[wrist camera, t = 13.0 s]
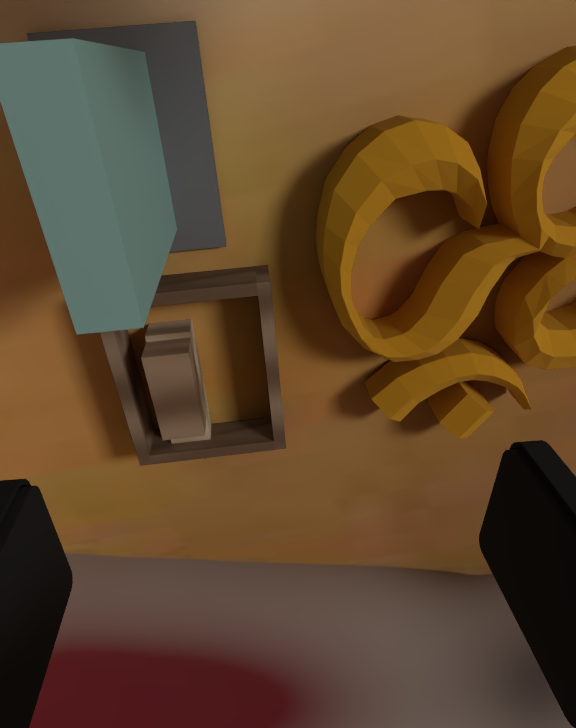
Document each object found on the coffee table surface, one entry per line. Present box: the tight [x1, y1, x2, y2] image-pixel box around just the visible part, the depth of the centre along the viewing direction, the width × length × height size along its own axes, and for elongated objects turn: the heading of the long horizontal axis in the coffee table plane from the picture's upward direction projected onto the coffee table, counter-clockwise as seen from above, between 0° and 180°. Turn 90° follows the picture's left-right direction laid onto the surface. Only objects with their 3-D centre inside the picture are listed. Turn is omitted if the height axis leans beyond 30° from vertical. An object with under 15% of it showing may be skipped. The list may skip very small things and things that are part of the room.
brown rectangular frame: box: [100, 265, 286, 466], centre depth 41 cm, size 16×13×4 cm
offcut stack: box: [141, 319, 211, 444], centre depth 41 cm, size 11×4×5 cm, turn 4°
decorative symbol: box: [316, 46, 576, 439], centre depth 39 cm, size 30×5×30 cm
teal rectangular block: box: [0, 38, 177, 334], centre depth 26 cm, size 11×3×16 cm, turn 4°
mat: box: [27, 21, 226, 252], centre depth 33 cm, size 14×10×1 cm
